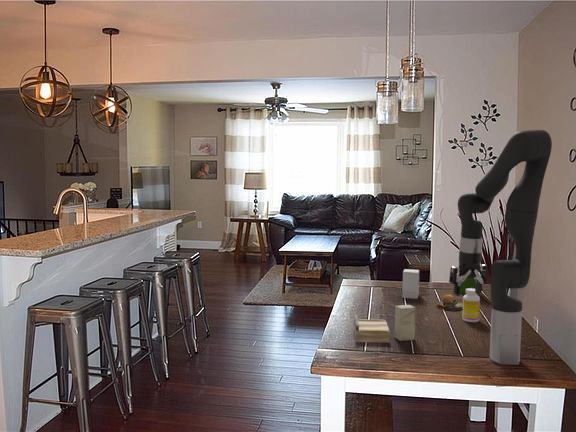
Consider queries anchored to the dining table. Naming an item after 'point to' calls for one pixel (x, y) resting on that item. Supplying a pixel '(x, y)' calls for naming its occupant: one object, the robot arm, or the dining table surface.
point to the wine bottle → (467, 285)
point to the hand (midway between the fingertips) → (467, 294)
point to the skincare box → (404, 322)
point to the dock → (371, 330)
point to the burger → (450, 303)
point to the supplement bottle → (471, 306)
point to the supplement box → (410, 284)
